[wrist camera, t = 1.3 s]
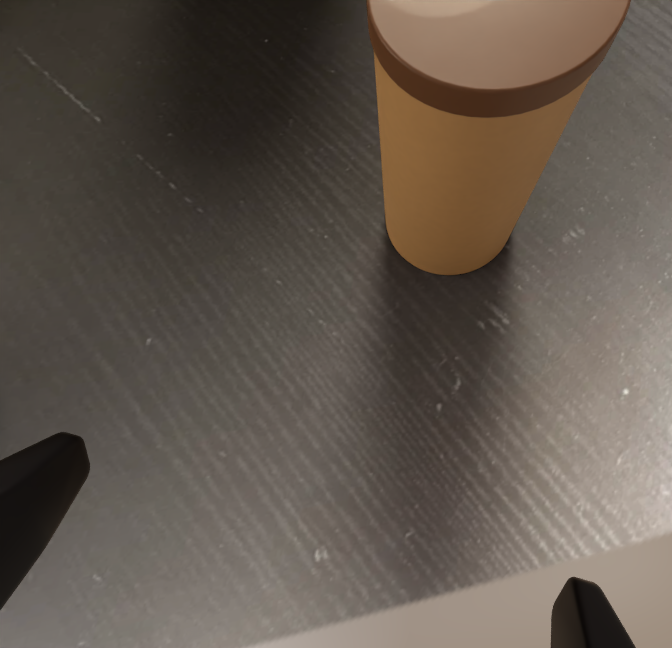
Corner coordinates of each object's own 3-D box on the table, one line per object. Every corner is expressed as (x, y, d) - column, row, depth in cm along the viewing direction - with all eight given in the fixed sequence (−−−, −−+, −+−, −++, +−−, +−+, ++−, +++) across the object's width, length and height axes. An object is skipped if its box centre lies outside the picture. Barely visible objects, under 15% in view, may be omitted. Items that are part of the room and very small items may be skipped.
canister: (542, 218, 24) (694, -30, 12) (445, 304, 24) (494, 142, 11) (450, 135, 26) (496, -161, 13) (357, 214, 25) (314, -14, 13)
